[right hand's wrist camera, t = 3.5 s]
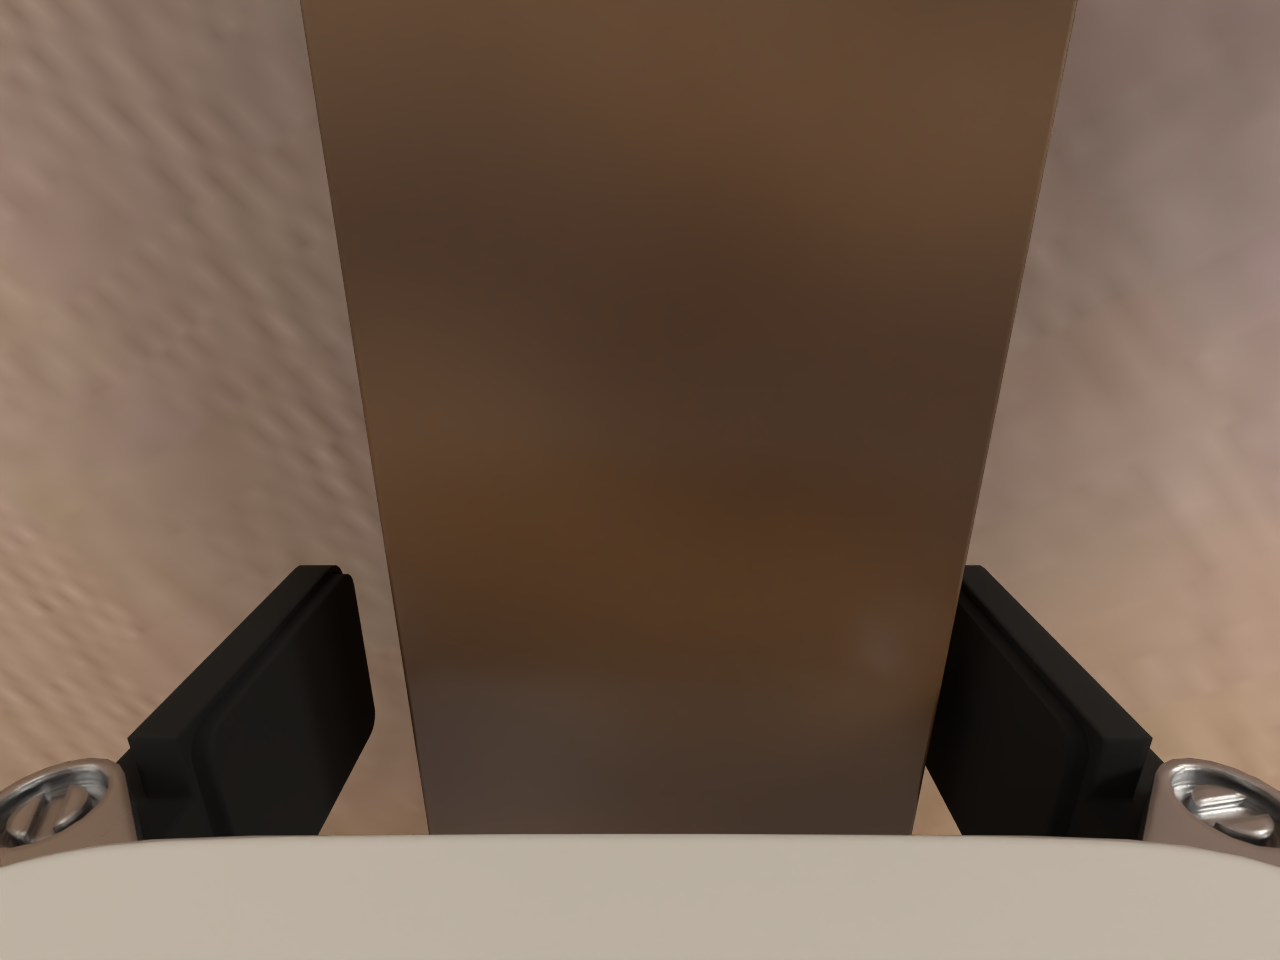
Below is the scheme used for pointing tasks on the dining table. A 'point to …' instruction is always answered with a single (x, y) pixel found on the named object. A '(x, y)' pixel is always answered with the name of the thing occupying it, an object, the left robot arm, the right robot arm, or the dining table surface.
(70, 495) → the dining table surface
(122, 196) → the dining table surface
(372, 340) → the beam
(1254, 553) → the dining table surface
